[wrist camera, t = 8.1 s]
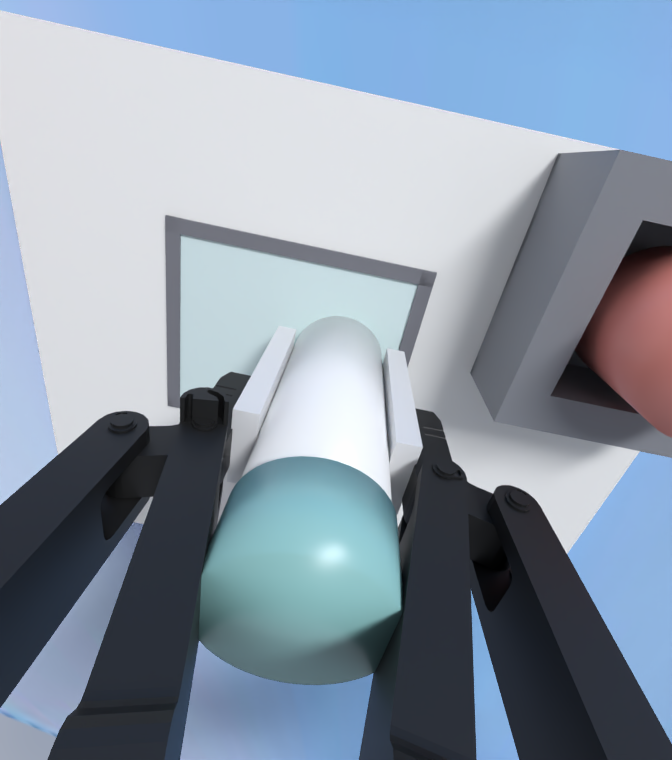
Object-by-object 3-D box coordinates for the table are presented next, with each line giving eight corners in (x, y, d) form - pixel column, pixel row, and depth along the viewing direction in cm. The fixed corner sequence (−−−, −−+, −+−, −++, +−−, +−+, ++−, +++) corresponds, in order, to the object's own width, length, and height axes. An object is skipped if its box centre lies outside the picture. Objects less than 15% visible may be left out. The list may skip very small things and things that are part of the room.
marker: (372, 405, 19) (376, 698, 9) (285, 388, 19) (185, 664, 9) (394, 324, 17) (435, 579, 7) (298, 304, 17) (186, 532, 7)
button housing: (656, 411, 19) (722, 468, 15) (470, 372, 19) (493, 421, 15) (797, 206, 15) (934, 220, 11) (558, 153, 14) (620, 149, 11)
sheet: (528, 581, 27) (536, 600, 26) (80, 495, 26) (66, 511, 25) (790, 192, 15) (825, 195, 14) (3, 16, 14) (-29, 3, 13)
